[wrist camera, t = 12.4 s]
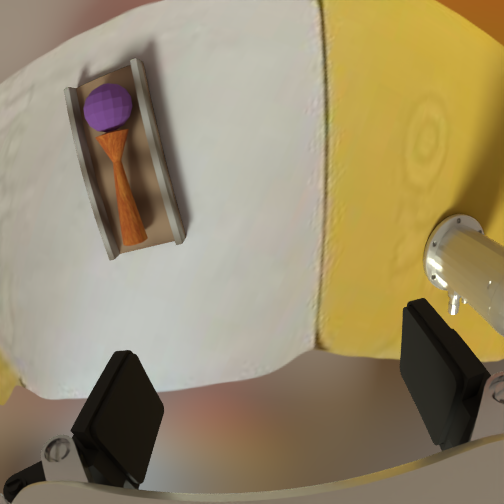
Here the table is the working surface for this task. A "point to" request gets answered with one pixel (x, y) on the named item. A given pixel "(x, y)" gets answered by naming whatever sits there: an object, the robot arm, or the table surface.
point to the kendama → (116, 151)
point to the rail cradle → (126, 165)
